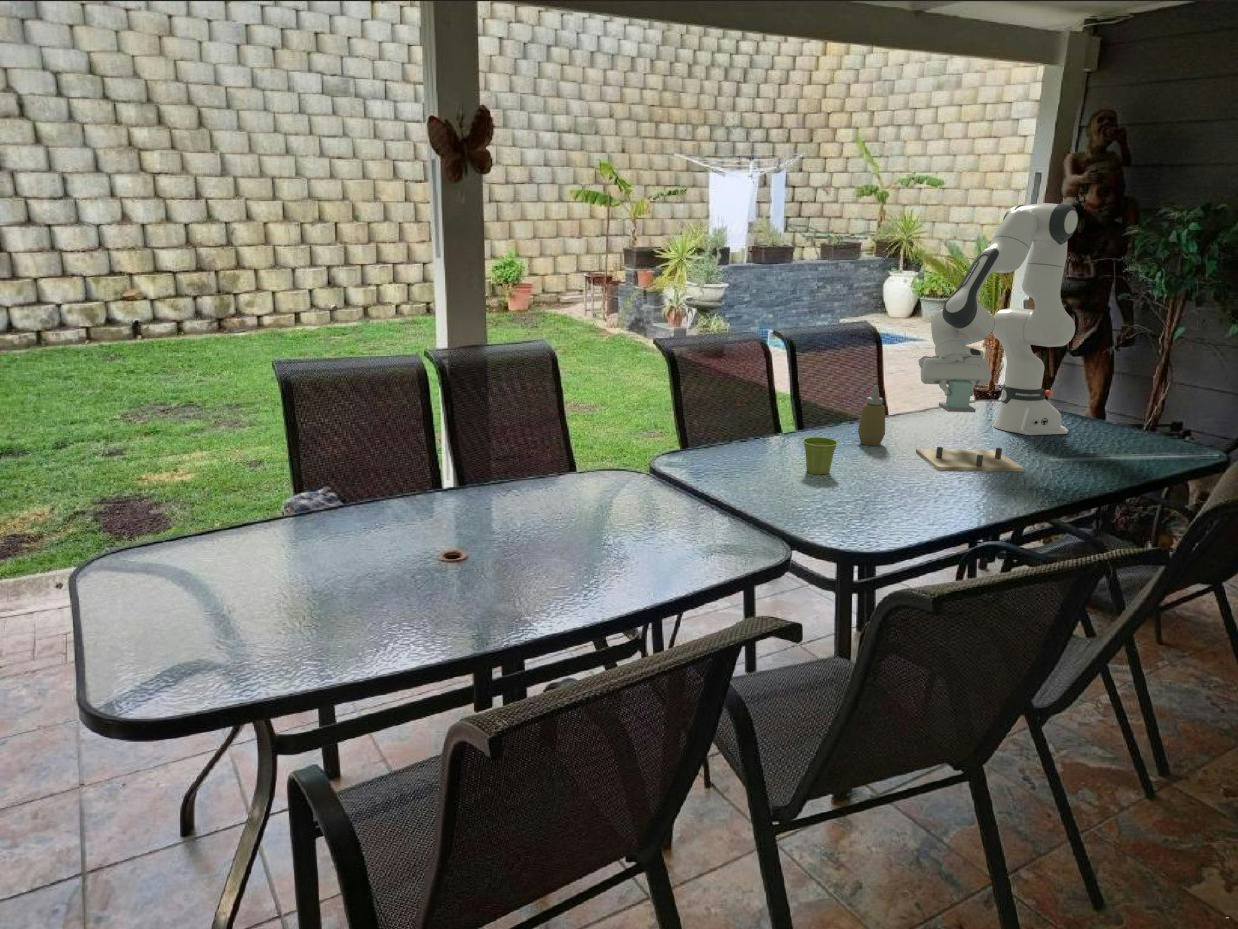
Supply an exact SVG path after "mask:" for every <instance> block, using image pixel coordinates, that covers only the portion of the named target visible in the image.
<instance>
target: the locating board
mask: <svg viewBox="0 0 1238 929" xmlns="http://www.w3.org/2000/svg"><path fill="white" fill-rule="evenodd" d="M1002 452H1003V448H1002V447H996V449H944V448H943V447H941V446H937V447H936V448H935V449H934V448H933V449H932V448H927V449H926V448H916V449H915V454H917V455H919V457H920V458H922V459H923V460H924V461H925V462H927V463H928V464H929V465H931V466H932V467H933V468H934V469H935V470H937V471H963V472H964V471H971V472H972V471H973V472H977V471H979V472H986V471H987V472H1024V471H1025V468H1024V467H1023V466H1022V465H1020V464H1019V463H1017V462H1016V461H1014V460H1013V459H1011V458H1009V457H1008V456H1006V455H1005V454H1003V453H1002Z"/></svg>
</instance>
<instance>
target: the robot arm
mask: <svg viewBox="0 0 1238 929" xmlns="http://www.w3.org/2000/svg"><path fill="white" fill-rule="evenodd" d="M1078 225H1079V213H1078V211H1077V209H1076V207H1075V206H1073V205H1071V204H1065V203H1051V202H1050V203H1048V202H1041V203H1033V204H1032V203H1031V204H1018V205H1014V206H1012V207H1010V208H1009V209H1008V210H1007V211H1006V212H1005V214H1004V216H1003V218H1002V222H1001V223H1000V224H999V226H998V227H997V230H996V232H995V233H994V235H993V237H992V239H991V242H990V243H989V245H988V246H987V248H985V249H983V250H982V251H980V252H979V254H978V255H977V256H976V258H975V259H974V261H973V262H972V264H971V265H970V267H969V269H968V270H967V272H966V273H965V275H964V276H963V278H962V280H960V282H959V285H958V286H957V287H956V289H955V290H954V292H953V293H952V294H951V295H950V296H949V297H948V299H946V301H945V302H944V305H943V308H942V309H939V310H938V311H937V312H936V313H935V314H933V316H932V318H931V321H930V322H931V323H930V327H931V328H930V330H931V331H930V332H931V337H932V342H933V344H934V352H935V355H933V356H932V355H931V356H929V355H922V357H920V358H919V359H918V365H919V368H920V380H921V382H922V384H924V385H939V388H940V390H942V391H943V392H944V395H945V397H947V396H951V394H952V391H951V388H948V383H949V381H966V382H968V383H970V384H972V388H971V395H970V397H973V396H974V388H975V386H987V385H988V384H989V383H990V382H991V379H992V372H991V368H990V366H989V363H988V361H987V360H986V359H985V352H984V351H983V350H980V349H978V348H974V347H970V346H969V345H972V344H974V343H978V342H981V341H983V340H985V339H987V338H989V337H990V335H991V334H992V335H993V336H994V338H995V339H996V340H998V342H999V344H1001V346H1002V348H1003V351H1004V354H1005V357H1006V369H1005V370H1006V371H1005V380H1004V384H1003V385H1002V389H1001V393H1000V394H1001V395H1000V396H1001V397H1000V406H999V410H998V413H997V416H996V419H995V421H994V422H993V424H992V425H993V427H994V428H996V429H998V430H1001V431H1006V432H1011V433H1016V434H1021V435H1025V436H1040V435H1041V436H1043V435H1065V434H1069V433H1068V432H1069V430H1068V429H1067V427H1065V426H1064V425H1062V414H1061V413H1060V412H1059V410H1058V409H1057V408H1056V407H1054V405H1052V404H1051V403H1050V402H1049V401H1048V400H1047V399H1046V397H1047V398H1051V397H1052V395H1053V391H1052V390H1049V389H1044V388H1043V387H1042V386H1043V379H1044V373H1045V364H1044V362H1043V360H1042V359H1041V358H1039V357H1038V356H1036V354H1034V352H1033V349H1032V347H1031V345H1033V346H1040V347H1045V348H1052V347H1053V348H1054V347H1056V348H1057V347H1065V346H1066V345H1068V344H1069V342H1071V341H1072V339H1073V338H1074V336H1075V332H1076V325H1075V321H1074V319H1073V318H1072V316H1070V315H1069V313H1068V312H1067V311H1066V309H1065V307H1064V305H1063V302H1062V297H1061V292H1062V291H1061V289H1062V283H1063V282H1062V281H1063V276H1064V272H1065V267H1066V263H1067V262H1066V261H1067V254H1068V240H1069V239H1070V238H1071V237H1072V236H1073V234H1074V233H1075V231H1076V230H1077V228H1078ZM1026 258H1027V261H1026V265H1025V271H1024V274H1023V280H1022V284H1021V287H1022V291H1023V292H1024V294H1025V295H1027V297H1029V298H1031V299H1032V300H1033V302H1034V309H1031V308H1030V309H1028V308H1019V307H1012V308H1003V309H999V310H998V311H997V312H996V313H995V314H994V315H992V314H991V313H990V312H989V311H988V310H987V309H986V308H985V307H983V305H981V303H979V298H978V297H979V294H980V291H981V289H982V288H983V286H984V285H985V283H986V282H987V280H988V279H989V277H990V275H991V274H992V273H996V274H997V273H998V274H1009V273H1012V272H1015V271H1016V270H1018V269H1020V267H1021V266H1022V265H1023V263H1024V262H1025V260H1026Z"/></svg>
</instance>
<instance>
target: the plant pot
mask: <svg viewBox="0 0 1238 929" xmlns="http://www.w3.org/2000/svg"><path fill="white" fill-rule="evenodd" d="M802 443H803V447H804V449H805V450H804V451H805V462H806V465H805V466H806V471H807V472H809V473H810V474H812V475H818V476H819V475H823V474H825V475H827V474H830V472H831V467H832V462H833V459H834V457H833V456H834V454H835V450H836V447H837V446H838V445H839V442H838V441H837V440H836V439H834V438H828V437H823V436H821V437H820V436H819V437H818V436H812V437H805V438H804V439H802Z"/></svg>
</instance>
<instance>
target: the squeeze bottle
mask: <svg viewBox="0 0 1238 929" xmlns="http://www.w3.org/2000/svg"><path fill="white" fill-rule="evenodd" d="M879 389H880V388H879V386H878V385H874V386H873V389H872V392H871V395H870V396H867V397H866V403H865V404H862V405H863V406H862V409H861V414H860V418H859V419H860V420H859V424H858V428H857V433H858V436H859V441H860V444H862V445H865V446H873V447H874V446H880V445H881V443H882V441H883V439H884V437H885V435H886V406H884V404H883V403H884V399H883V397H880V390H879Z"/></svg>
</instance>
